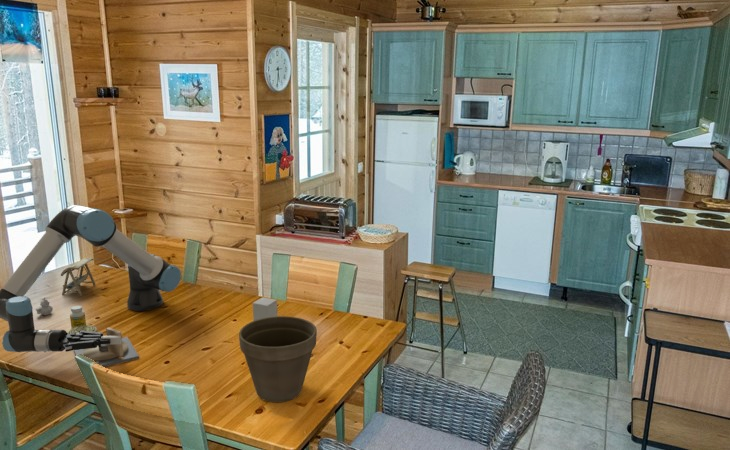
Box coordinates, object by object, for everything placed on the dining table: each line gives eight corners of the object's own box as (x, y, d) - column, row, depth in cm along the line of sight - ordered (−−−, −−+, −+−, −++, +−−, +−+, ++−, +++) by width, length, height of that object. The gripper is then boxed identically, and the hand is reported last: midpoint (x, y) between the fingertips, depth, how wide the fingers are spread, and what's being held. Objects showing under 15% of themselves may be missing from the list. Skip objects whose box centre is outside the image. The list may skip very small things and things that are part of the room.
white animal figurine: (55, 313, 244) (53, 296, 243) (40, 318, 239) (38, 301, 237) (49, 310, 247) (47, 293, 245) (33, 315, 242) (31, 298, 240)
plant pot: (262, 367, 202) (261, 310, 197) (327, 378, 195) (327, 320, 190) (226, 403, 179) (223, 340, 173) (298, 417, 172) (298, 352, 167)
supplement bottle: (85, 325, 233) (83, 304, 231) (87, 330, 229) (85, 308, 226) (70, 328, 230) (68, 306, 228) (72, 333, 226) (70, 311, 224)
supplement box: (278, 328, 234) (277, 299, 231) (268, 335, 228) (267, 305, 225) (263, 324, 237) (262, 296, 234) (253, 331, 231) (252, 302, 228)
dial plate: (127, 339, 222) (127, 336, 221) (139, 358, 207) (138, 355, 206) (73, 350, 211) (73, 347, 211) (81, 372, 196) (81, 368, 196)
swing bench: (78, 285, 279) (74, 256, 276) (97, 285, 279) (94, 257, 275) (61, 295, 265) (57, 265, 261) (81, 296, 265) (78, 266, 261)
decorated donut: (62, 344, 217) (61, 335, 216) (74, 332, 227) (73, 323, 226) (90, 344, 217) (89, 335, 217) (101, 332, 228) (100, 323, 227)
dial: (74, 354, 206) (71, 328, 204) (111, 339, 219) (108, 314, 216) (103, 366, 198) (100, 340, 195) (139, 350, 210) (137, 325, 208)
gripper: (61, 342, 207) (127, 341, 208) (44, 358, 194) (115, 358, 196) (59, 323, 205) (126, 322, 206) (42, 338, 192) (113, 338, 194)
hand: (120, 339), depth 201 cm, fingers closed
